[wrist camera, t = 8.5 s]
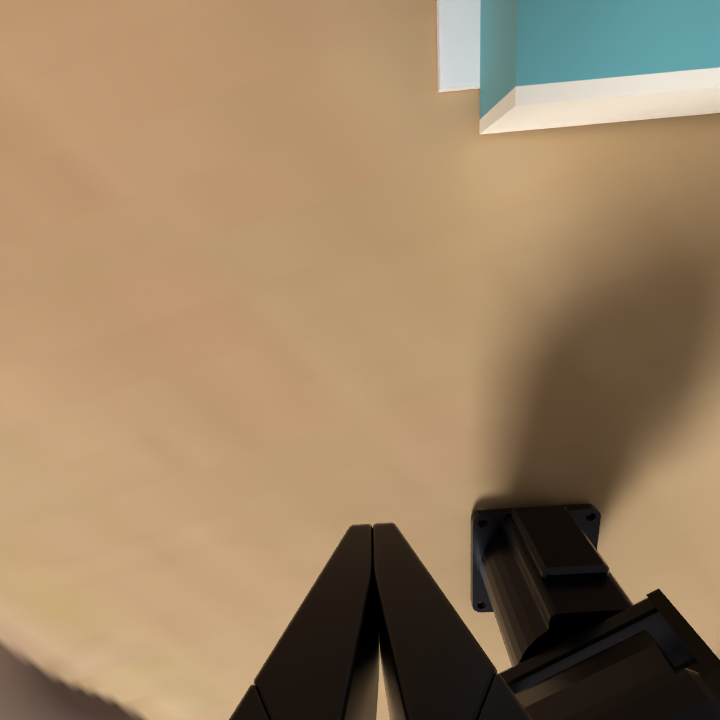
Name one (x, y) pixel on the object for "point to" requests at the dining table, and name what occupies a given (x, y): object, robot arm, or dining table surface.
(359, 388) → the dining table surface
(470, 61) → the mat
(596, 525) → the robot arm
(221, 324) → the dining table surface
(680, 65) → the teal block
